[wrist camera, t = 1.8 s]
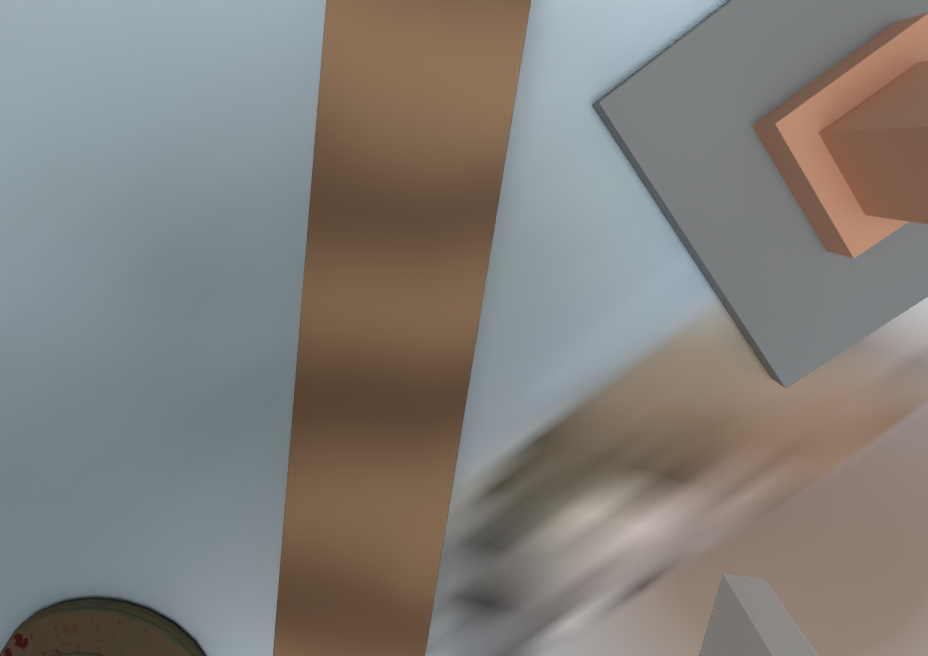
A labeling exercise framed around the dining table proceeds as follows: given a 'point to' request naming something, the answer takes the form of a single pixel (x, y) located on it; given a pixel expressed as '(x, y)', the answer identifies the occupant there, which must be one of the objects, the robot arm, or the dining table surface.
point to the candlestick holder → (99, 632)
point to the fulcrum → (792, 165)
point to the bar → (390, 311)
